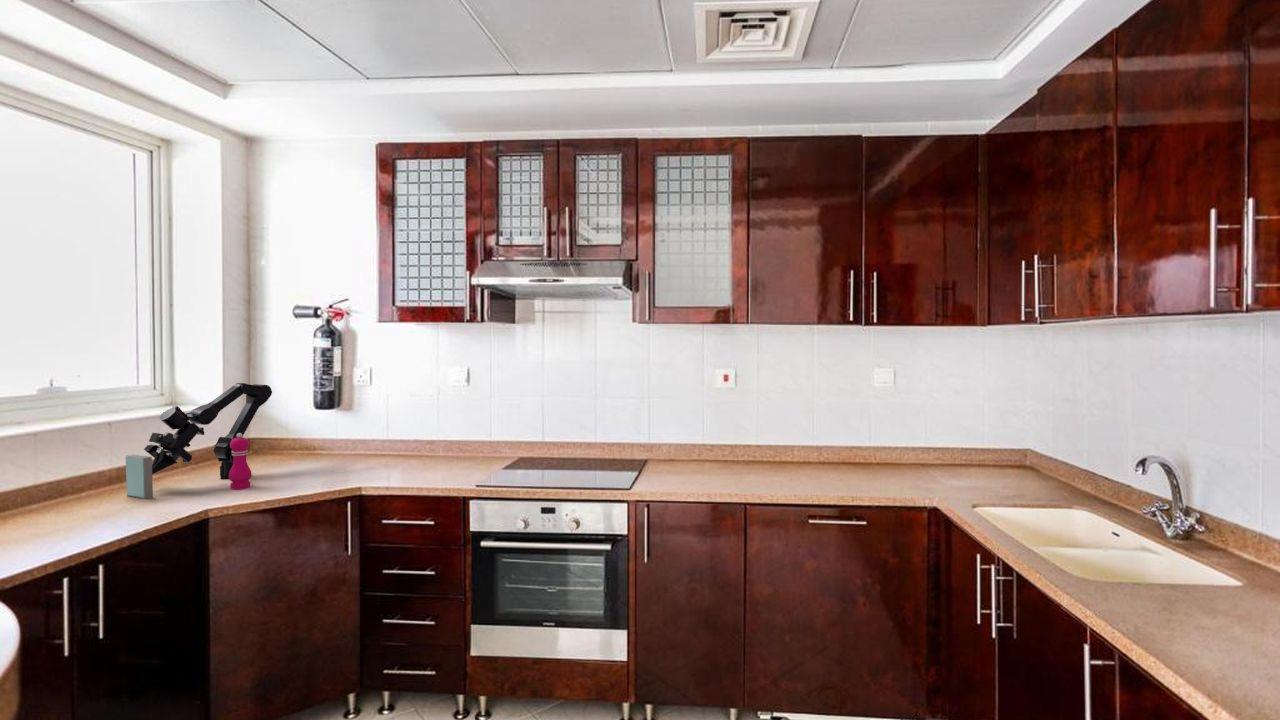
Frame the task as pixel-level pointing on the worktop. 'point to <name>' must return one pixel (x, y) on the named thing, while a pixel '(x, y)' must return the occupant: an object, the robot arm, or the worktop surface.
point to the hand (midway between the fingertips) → (150, 473)
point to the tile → (139, 476)
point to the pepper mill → (239, 463)
